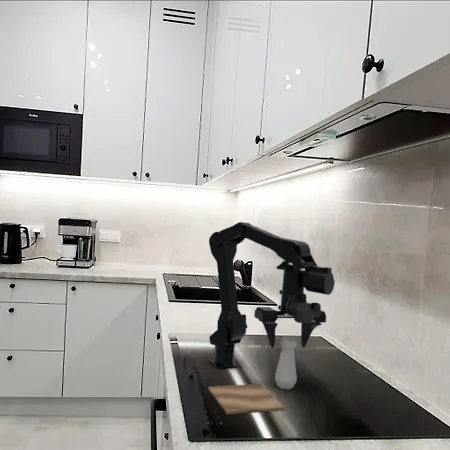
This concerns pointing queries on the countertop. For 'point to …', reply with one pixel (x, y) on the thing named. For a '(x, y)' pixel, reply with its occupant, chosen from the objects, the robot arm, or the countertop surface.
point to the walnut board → (245, 398)
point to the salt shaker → (286, 364)
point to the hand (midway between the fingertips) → (287, 347)
